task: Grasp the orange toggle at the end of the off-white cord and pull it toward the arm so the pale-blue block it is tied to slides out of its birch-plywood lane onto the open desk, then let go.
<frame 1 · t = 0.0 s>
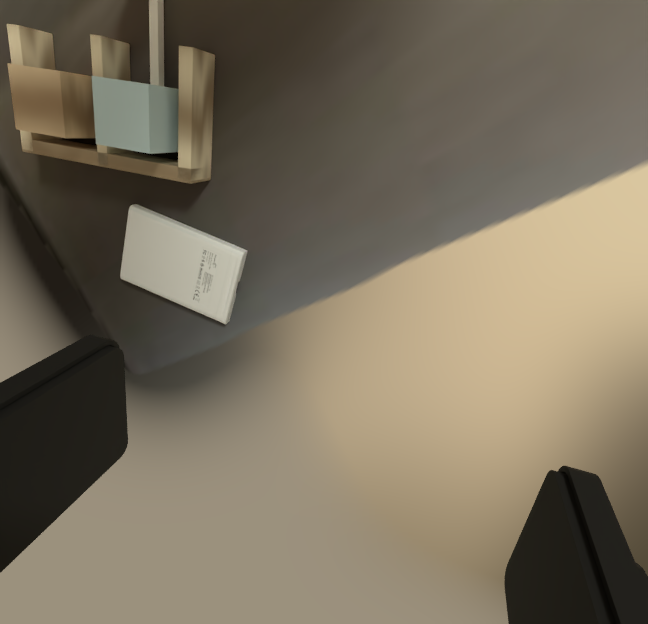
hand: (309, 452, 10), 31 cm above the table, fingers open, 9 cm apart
shelf lanes: (126, 105, 41), on the table
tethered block: (165, 117, 40), on the table
external hard drive: (187, 262, 46), on the table
plain block: (90, 105, 42), resting in shelf lanes
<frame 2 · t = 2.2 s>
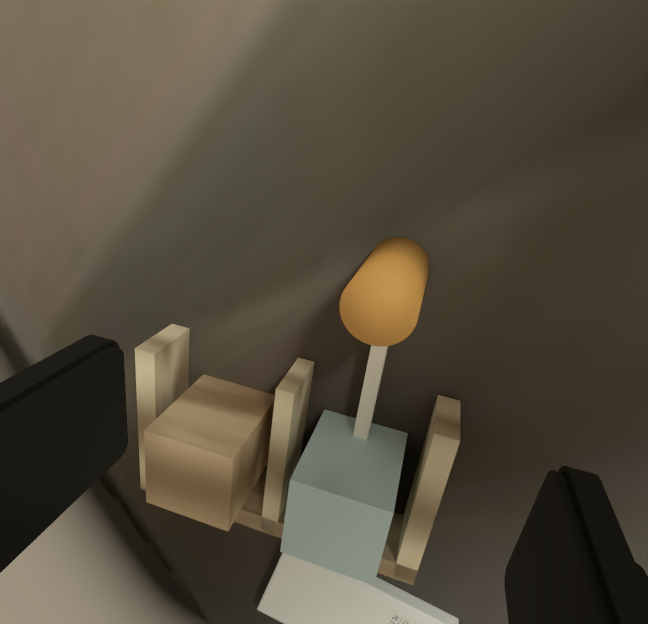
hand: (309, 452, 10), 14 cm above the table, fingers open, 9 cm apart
shelf lanes: (296, 429, 28), on the table
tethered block: (358, 454, 27), on the table
external hard drive: (354, 598, 33), on the table
plain block: (237, 416, 29), resting in shelf lanes
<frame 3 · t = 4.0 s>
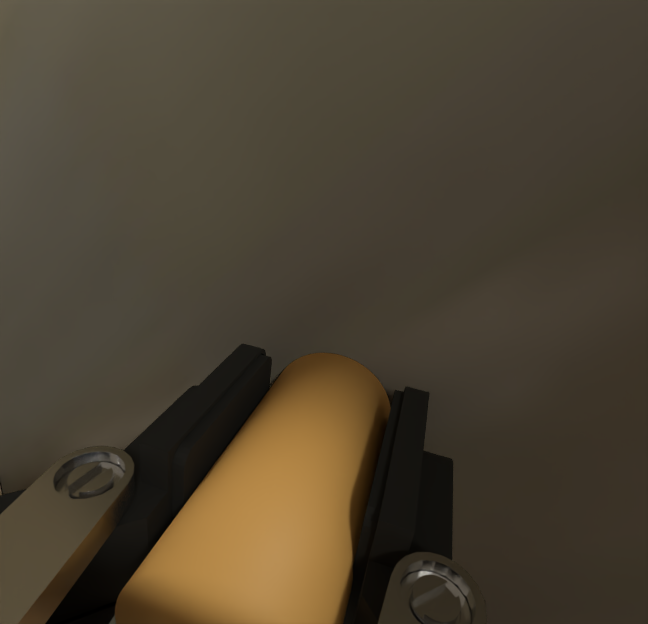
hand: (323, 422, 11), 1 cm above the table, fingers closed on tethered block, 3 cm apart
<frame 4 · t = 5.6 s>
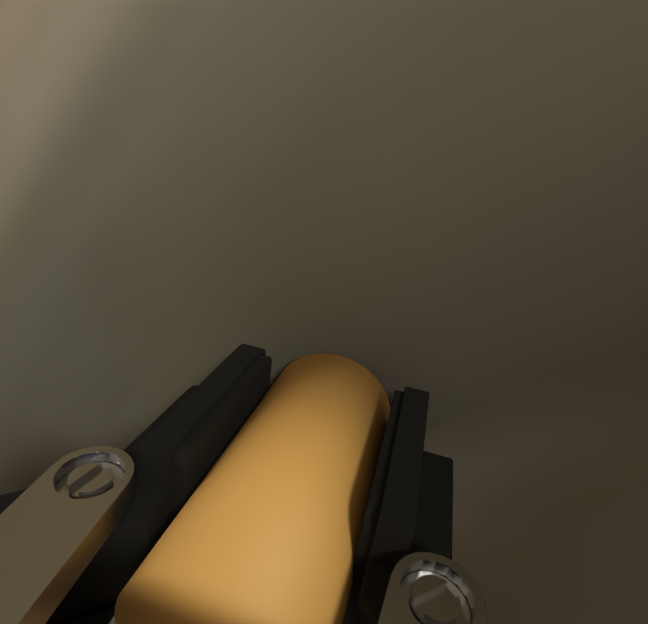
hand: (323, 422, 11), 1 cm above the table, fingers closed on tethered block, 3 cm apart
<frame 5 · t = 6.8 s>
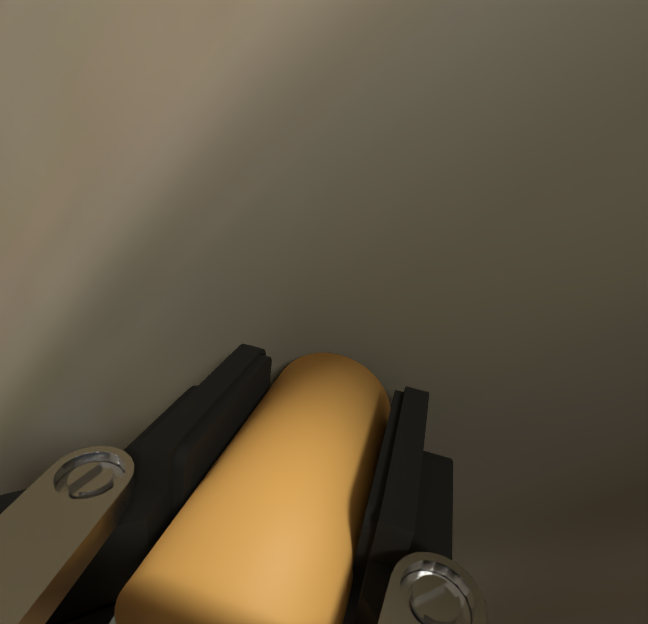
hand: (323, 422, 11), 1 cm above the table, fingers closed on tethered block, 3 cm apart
when the fingers open (1 cm above the table, at t = 7.4 s): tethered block stays where it is, on the table.
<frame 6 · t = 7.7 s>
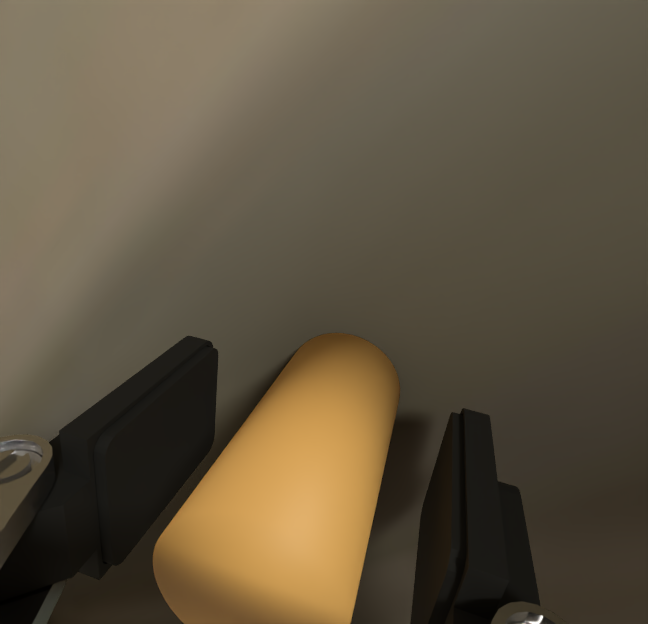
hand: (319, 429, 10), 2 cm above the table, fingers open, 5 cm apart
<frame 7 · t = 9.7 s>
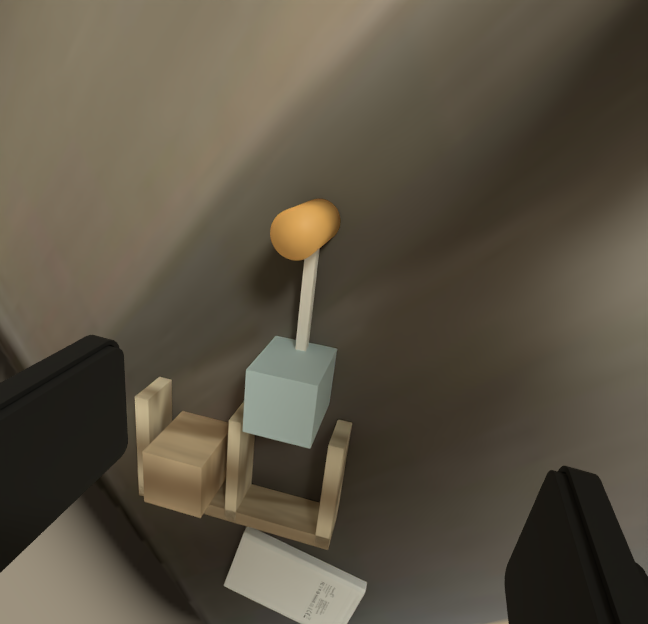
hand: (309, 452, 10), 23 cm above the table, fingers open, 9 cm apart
shelf lanes: (248, 447, 40), on the table
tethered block: (303, 370, 36), on the table
external hard drive: (295, 574, 45), on the table
plain block: (207, 440, 41), resting in shelf lanes
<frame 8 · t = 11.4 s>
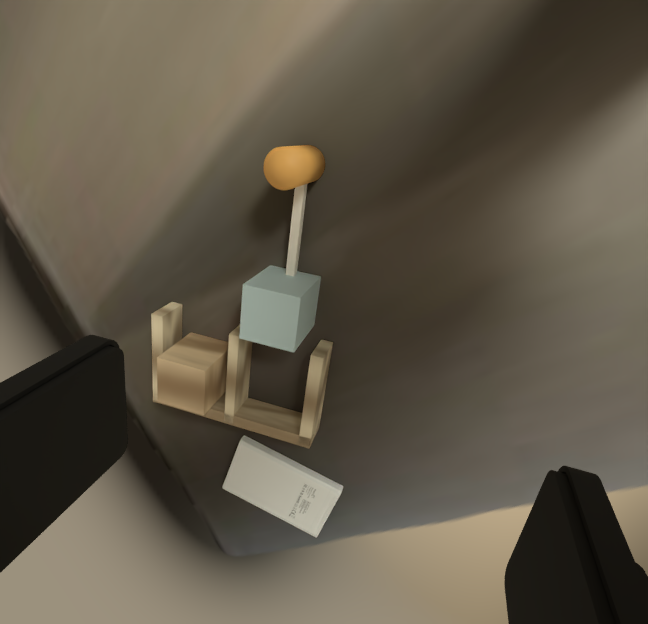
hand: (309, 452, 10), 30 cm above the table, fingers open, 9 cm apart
shelf lanes: (246, 364, 47), on the table
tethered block: (292, 295, 42), on the table
external hard drive: (284, 480, 52), on the table
plain block: (211, 358, 48), resting in shelf lanes
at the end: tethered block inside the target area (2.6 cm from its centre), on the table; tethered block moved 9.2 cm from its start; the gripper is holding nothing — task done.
